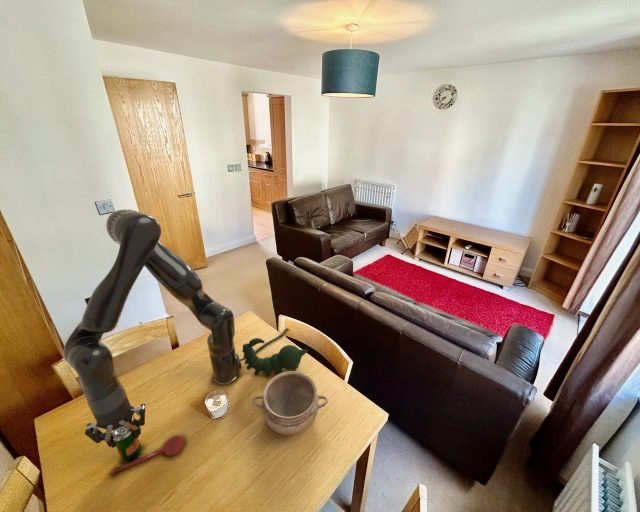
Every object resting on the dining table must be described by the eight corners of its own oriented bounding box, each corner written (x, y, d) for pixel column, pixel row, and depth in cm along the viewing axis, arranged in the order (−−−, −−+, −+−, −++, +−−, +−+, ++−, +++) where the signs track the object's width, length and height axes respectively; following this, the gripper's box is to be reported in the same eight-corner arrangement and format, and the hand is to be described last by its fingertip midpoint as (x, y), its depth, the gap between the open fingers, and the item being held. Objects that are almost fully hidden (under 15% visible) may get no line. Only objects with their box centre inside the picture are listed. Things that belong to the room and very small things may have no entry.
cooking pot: (248, 445, 85) (245, 421, 80) (259, 392, 103) (257, 369, 97) (328, 445, 86) (329, 420, 81) (325, 392, 103) (327, 369, 98)
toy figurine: (248, 386, 107) (311, 374, 110) (239, 350, 98) (307, 338, 102) (249, 367, 115) (308, 356, 118) (241, 333, 107) (304, 322, 110)
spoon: (183, 434, 88) (182, 431, 87) (184, 450, 84) (184, 448, 83) (113, 464, 80) (112, 462, 79) (111, 484, 75) (110, 482, 75)
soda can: (133, 465, 80) (121, 440, 74) (118, 461, 80) (106, 436, 75) (146, 447, 84) (136, 423, 79) (132, 443, 85) (121, 419, 80)
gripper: (70, 425, 66) (93, 465, 73) (139, 400, 72) (154, 439, 79) (77, 400, 72) (97, 439, 79) (140, 379, 78) (154, 417, 85)
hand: (126, 439), depth 79 cm, fingers closed on soda can, 5 cm apart
